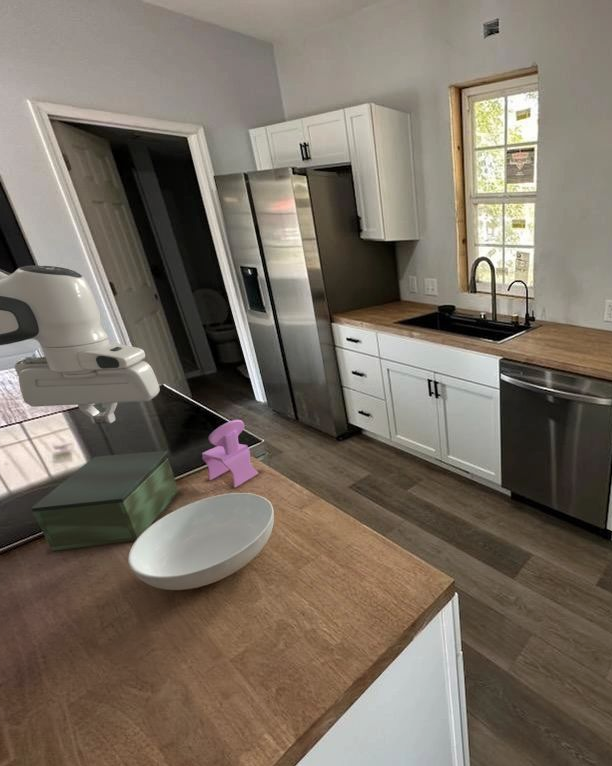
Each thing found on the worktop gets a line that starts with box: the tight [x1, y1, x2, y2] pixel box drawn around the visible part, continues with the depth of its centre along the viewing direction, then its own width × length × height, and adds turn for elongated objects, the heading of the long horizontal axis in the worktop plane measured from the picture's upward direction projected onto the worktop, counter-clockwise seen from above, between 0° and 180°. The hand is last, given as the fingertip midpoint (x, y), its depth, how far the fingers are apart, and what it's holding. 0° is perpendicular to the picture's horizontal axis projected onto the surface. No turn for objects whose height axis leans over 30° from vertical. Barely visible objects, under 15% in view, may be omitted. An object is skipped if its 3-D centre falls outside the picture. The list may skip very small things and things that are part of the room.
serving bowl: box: [127, 492, 275, 591], centre depth 74 cm, size 21×21×7 cm
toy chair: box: [201, 419, 259, 488], centre depth 96 cm, size 8×9×15 cm
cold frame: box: [32, 457, 180, 552], centre depth 83 cm, size 16×14×9 cm
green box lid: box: [30, 450, 170, 513], centre depth 81 cm, size 17×14×1 cm
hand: (104, 422), depth 82 cm, fingers closed
